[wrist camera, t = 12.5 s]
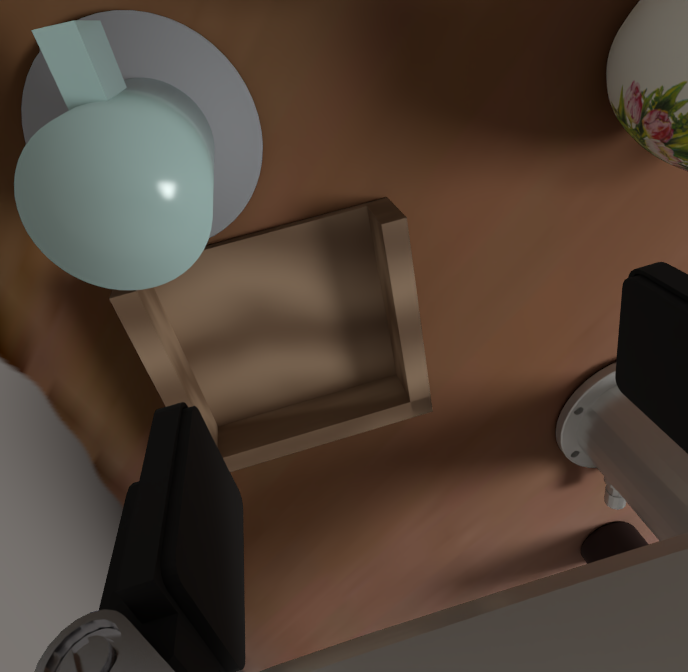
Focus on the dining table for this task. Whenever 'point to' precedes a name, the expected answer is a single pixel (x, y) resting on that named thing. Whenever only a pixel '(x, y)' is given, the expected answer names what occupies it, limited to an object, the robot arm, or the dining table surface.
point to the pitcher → (653, 78)
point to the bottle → (611, 541)
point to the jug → (115, 169)
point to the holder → (289, 334)
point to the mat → (188, 76)
